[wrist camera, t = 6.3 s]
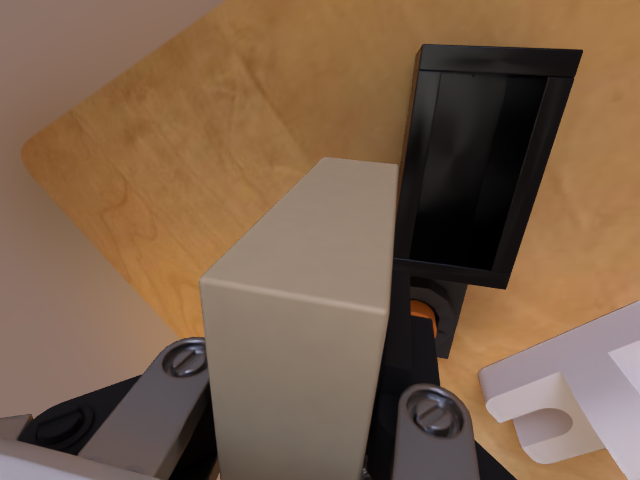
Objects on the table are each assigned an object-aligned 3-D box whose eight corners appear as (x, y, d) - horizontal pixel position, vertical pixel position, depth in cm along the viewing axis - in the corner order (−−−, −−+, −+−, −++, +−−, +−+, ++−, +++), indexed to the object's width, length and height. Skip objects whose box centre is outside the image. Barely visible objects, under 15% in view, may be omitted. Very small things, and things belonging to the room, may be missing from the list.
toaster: (416, 53, 25) (422, 43, 18) (529, 57, 23) (584, 49, 16) (390, 228, 30) (388, 273, 23) (481, 239, 29) (506, 289, 22)
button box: (374, 240, 31) (370, 260, 28) (468, 252, 30) (477, 275, 26) (363, 329, 35) (358, 357, 32) (445, 343, 34) (450, 374, 31)
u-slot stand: (737, 363, 29) (904, 504, 19) (526, 432, 37) (571, 559, 27) (682, 281, 27) (835, 392, 18) (473, 372, 35) (500, 484, 25)
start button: (393, 296, 29) (393, 309, 27) (438, 303, 28) (440, 316, 27) (388, 331, 30) (387, 344, 29) (430, 338, 30) (432, 352, 28)
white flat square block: (311, 342, 15) (230, 577, 8) (322, 156, 12) (195, 278, 5) (369, 354, 15) (337, 613, 8) (399, 164, 11) (389, 312, 4)
